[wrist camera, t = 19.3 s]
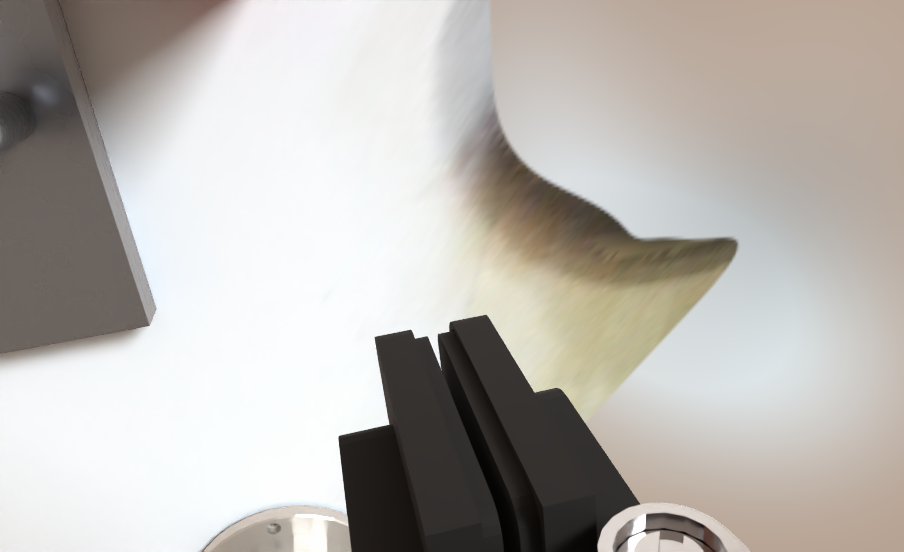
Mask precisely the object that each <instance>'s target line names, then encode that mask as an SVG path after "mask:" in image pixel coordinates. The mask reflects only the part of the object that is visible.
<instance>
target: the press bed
mask: <svg viewBox="0 0 904 552" xmlns="http://www.w3.org/2000/svg"><path fill="white" fill-rule="evenodd" d="M155 311H156V306H155V303H154V300H153V297H152V294H151V291H150V288H149V284H148V281H147V278H146V275H145V272H144V269H143V266H142V263H141V259H140V256H139V253H138V250H137V247H136V244H135V241H134V237H133V234H132V231H131V228H130V225H129V222H128V219H127V215H126V212H125V209H124V206H123V203H122V200H121V197H120V194H119V190H118V187H117V184H116V181H115V178H114V175H113V172H112V168H111V165H110V162H109V159H108V156H107V153H106V150H105V147H104V143H103V140H102V137H101V134H100V131H99V128H98V125H97V121H96V118H95V115H94V112H93V109H92V106H91V103H90V100H89V96H88V93H87V90H86V87H85V84H84V81H83V78H82V74H81V71H80V68H79V65H78V62H77V59H76V56H75V52H74V49H73V46H72V43H71V40H70V37H69V34H68V31H67V27H66V24H65V21H64V18H63V15H62V12H61V9H60V5H59V2H58V0H0V354H1V353H6V352H12V351H17V350H22V349H28V348H33V347H39V346H44V345H49V344H55V343H60V342H65V341H71V340H76V339H81V338H87V337H92V336H97V335H103V334H108V333H114V332H119V331H124V330H130V329H135V328H140V327H146V326H150V324H151V321H152V319H153V316H154V314H155Z"/></svg>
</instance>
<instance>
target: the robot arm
mask: <svg viewBox="0 0 904 552" xmlns="http://www.w3.org/2000/svg"><path fill="white" fill-rule="evenodd" d="M449 331H450V332H446V333H441V334H438V346H439V353H440V361H441V368H440V366H439V363H438V361H437V358H436V356H435V353H434V351H433V348H432V346H431V343H430V341H429V339H428V337H422V338H417V339H415V338H414V335H413V332H412V330H407V331H402V332H397V333H392V334H387V335H382V336H377V337H375V343H376V349H377V355H378V361H379V367H380V373H381V378H382V384H383V390H384V396H385V401H386V407H387V413H388V419H389V425H386V426H382V427H377V428H373V429H368V430H364V431H359V432H355V433H350V434H345V435H341V436H339V448H340V456H341V465H342V474H343V482H344V491H345V500H346V508H347V515H346V514H344V513H342V512H338V511H335V510H331V509H327V508H324V507H314V506H286V507H281V508H276V509H271V510H266V511H263V512H260V513H257V514H255V515H252V516H249V517H247V518H245V519H243V520H241V521H239V522H237V523H235V524H234V525H232V526H230V527H229V528H227V529H226V530H225V531H224V532H222V533H221V534H220V535H218V536H217V537H216V538H215V539H214V540H213V541H212V542H211V543H210V544H209V546H208V547H207V548H206V549H205V550H204V552H751V551H750V550H749V549H748V548H747V547H746V546H745V545H744V544H743V543H742V542H741V541H740V540H739V539H738V538H737V537H736V536H735V535H734V534H732V533H731V532H730V531H729V530H728V529H727V528H725V527H724V526H723V525H722V524H720V523H719V522H717V521H716V520H715V519H713V518H712V517H711V516H709V515H706V514H704V513H702V512H700V511H697V510H695V509H693V508H690V507H686V506H681V505H676V504H672V503H645V504H641V505H640V503H639V502H638V500H637V499H636V497H635V496H634V494H633V493H632V491H631V490H630V488H629V487H628V486H627V484H626V483H625V481H624V480H623V478H622V477H621V475H620V474H619V472H618V471H617V469H616V468H615V466H614V465H613V464H612V462H611V461H610V459H609V458H608V456H607V455H606V453H605V452H604V450H603V449H602V448H601V446H600V445H599V443H598V442H597V440H596V439H595V437H594V436H593V434H592V433H591V431H590V430H589V428H588V427H587V425H586V424H585V422H584V421H583V420H582V418H581V417H580V415H579V414H578V412H577V411H576V409H575V408H574V406H573V405H572V403H571V402H570V400H569V399H568V397H567V396H566V395H565V394H564V392H563V391H562V390H561V389H558V388H554V389H549V390H545V391H540V392H536V393H534V391H533V390H532V388H531V386H530V385H529V383H528V381H527V380H526V378H525V376H524V375H523V373H522V372H521V370H520V368H519V367H518V365H517V363H516V362H515V360H514V358H513V357H512V355H511V353H510V352H509V350H508V349H507V347H506V345H505V344H504V342H503V340H502V339H501V337H500V335H499V334H498V332H497V330H496V329H495V327H494V326H493V324H492V322H491V321H490V319H489V317H488V316H487V315H483V316H478V317H473V318H468V319H462V320H457V321H452V322H450V325H449ZM441 369H442V371H441Z"/></svg>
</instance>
